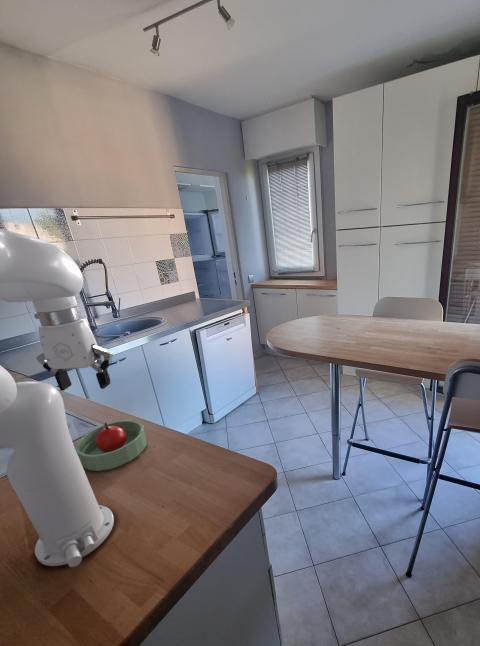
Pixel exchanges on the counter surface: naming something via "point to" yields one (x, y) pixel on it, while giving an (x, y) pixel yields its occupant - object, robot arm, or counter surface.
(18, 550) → the counter surface
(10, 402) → the robot arm
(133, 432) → the bowl
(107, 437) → the apple
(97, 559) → the counter surface
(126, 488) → the counter surface
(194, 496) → the counter surface
